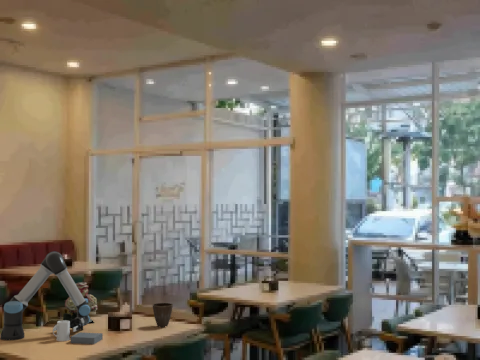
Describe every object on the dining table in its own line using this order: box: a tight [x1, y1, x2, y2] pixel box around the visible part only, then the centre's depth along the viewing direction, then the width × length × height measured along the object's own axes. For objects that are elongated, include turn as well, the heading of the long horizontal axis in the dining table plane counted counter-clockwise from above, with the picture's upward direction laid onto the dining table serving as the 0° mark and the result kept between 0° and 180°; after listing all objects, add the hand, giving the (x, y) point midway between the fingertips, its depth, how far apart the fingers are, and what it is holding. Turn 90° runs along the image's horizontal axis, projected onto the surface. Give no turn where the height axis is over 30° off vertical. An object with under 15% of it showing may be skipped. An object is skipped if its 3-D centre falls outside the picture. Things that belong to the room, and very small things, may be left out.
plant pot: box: [152, 302, 173, 328], centre depth 434 cm, size 15×15×16 cm
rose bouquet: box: [62, 281, 98, 323], centre depth 450 cm, size 26×29×30 cm
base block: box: [70, 332, 103, 345], centre depth 382 cm, size 16×14×4 cm
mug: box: [52, 319, 71, 342], centre depth 385 cm, size 12×8×12 cm
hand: (63, 329), depth 387 cm, fingers open, 13 cm apart
